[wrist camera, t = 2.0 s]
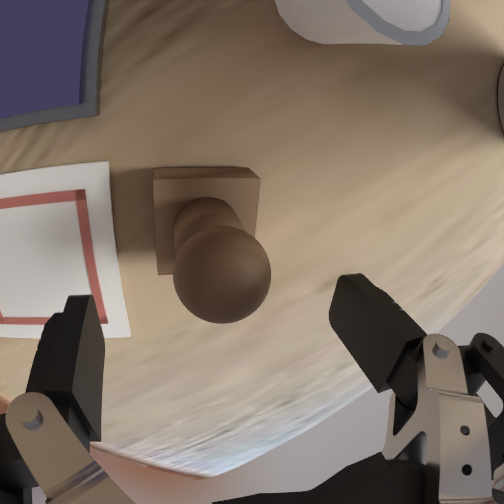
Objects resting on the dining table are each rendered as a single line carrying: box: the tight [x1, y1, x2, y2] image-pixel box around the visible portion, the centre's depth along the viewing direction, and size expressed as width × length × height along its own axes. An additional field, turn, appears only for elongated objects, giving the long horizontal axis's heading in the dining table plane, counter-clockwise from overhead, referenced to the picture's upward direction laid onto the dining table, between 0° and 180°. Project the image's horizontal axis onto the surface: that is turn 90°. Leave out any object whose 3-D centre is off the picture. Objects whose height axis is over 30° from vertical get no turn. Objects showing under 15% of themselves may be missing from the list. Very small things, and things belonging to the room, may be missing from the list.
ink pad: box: [0, 0, 109, 132], centre depth 9 cm, size 11×9×2 cm
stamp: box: [153, 167, 271, 324], centre depth 14 cm, size 5×5×9 cm
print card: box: [0, 160, 131, 338], centre depth 15 cm, size 12×12×1 cm
